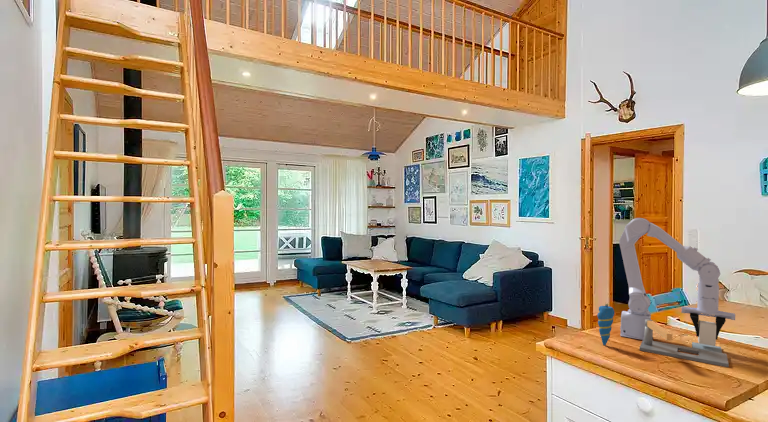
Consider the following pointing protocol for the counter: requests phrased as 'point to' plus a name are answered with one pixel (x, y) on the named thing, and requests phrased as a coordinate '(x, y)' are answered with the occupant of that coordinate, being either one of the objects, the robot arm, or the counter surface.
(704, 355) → the socket block
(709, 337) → the plug
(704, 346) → the rest pad
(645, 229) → the robot arm
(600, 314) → the ornament
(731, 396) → the counter surface
